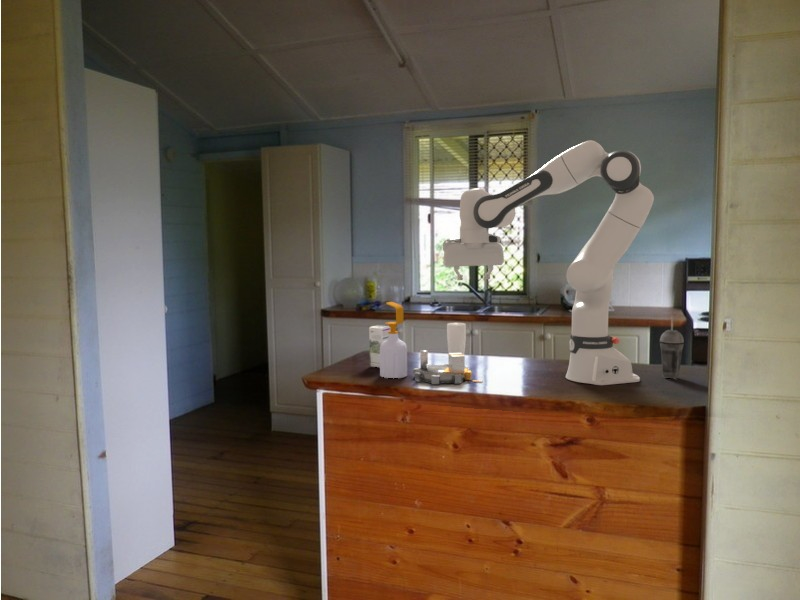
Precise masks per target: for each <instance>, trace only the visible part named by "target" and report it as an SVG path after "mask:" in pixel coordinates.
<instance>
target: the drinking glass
mask: <svg viewBox="0 0 800 600" xmlns="http://www.w3.org/2000/svg"><path fill="white" fill-rule="evenodd" d="M466 338H467V323H464V322H448V323H447V324H446V340H447V350H448V353H462V354H463V355H464V356H465V351H466V350H465V349H466V340H467V339H466Z"/></svg>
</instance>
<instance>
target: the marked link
mask: <svg viewBox="0 0 800 600" xmlns="http://www.w3.org/2000/svg"><path fill="white" fill-rule="evenodd" d="M447 356H448V357H447V358H448V364H449V369H450V370H451V371H452V372H465V367H466V366H465V361H466V360H465V354H464V355H463V354H462V353H448V355H447Z"/></svg>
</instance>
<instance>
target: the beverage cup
mask: <svg viewBox="0 0 800 600" xmlns="http://www.w3.org/2000/svg"><path fill="white" fill-rule="evenodd" d="M670 321H671V322H670V329H667V330H665V331H664V332H663V333H661V335H660V338H659V345H660V353H661V355H660V356H661V368H662V369H661V371H662V372H661V373H662V378H663V377H665V378H678V379H679V375H680V371H681V362H682V361H681V360H682V354H683V349H684V344H685V340H684V339H685V338H684V336H683V334H682V333H681V332H680V331H678V330H677V329H674V315H672V314H671V318H670ZM665 378H664V379H665Z"/></svg>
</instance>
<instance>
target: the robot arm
mask: <svg viewBox="0 0 800 600" xmlns="http://www.w3.org/2000/svg"><path fill="white" fill-rule="evenodd" d="M641 173H642V164H641V161H640V159H639V157H637V155H636V154H634V153H633V152H631V151H628V150H623V149H622V150H621V149H620V150H614V151H613V152H607V151H606V150H605V149H604V148H603V146H602V145H601V144H600V143H598V142H597V141H596V140H590V139H589V140H585V141H583V142H581V143H578V144H577V145H575V146H572V147H569V149H567V150H565V151H563V152H561V153H560V154H559V155H556V156H555V157H553V158H552V159H551V160H550V161H548V162H547V163H546V164H544V165H543V166H542V167H541V168H539V169H538V170H536V171H535V172H534V173H532V174H531V175H529V176H528V177H526V178H524V179H522V180H521V181H519V182H517V183H516V184H514V185H513V186H510V187H508V188H507V189H505V190H503V191H501V192H499V193H496V194H491V193H490V192H487V191H486V190H485V189H484V188H481V187H479V188H478V187H477V188H471V189H467V190H465V191H464V192H463V193H462V194H461V196H460V202H459V219H460V227H459V238H447V239H446V240H444V241H443V243H442V251H443V259H442V260H443V261H442V263H443V265H444V266H445V267H447V268H448V267H450V268H453V270H454V272H455V274H456V276H457V277H456V278H457V279H456V280H457V281H463V279H464V278H463V277H464V275H463V274H460V272H459V270H460V267H478V266H479V267H480V266H483V267H484V266H487V269H488V271H486V273H484V280H491V274H492V272H493V270H494V266H503V264H504V263H505V256H504V248H503V246H502V245H501V237H500V236H499V235H495V234H493V233H489V232H487V229H494V228H505V227H507V226H509V225H510V224H512V222H513V221H514V219H515V217H516V209H517V208H518V207H520V206H522V205H523V204H525V203H527V202H528V201H531V200H533V199H535V198H538V197H541V196H547V195H558V194H562V193H565V192H567V191H569V190H571V189H573V188H575V187H577V186H579V185H581V184H582V183H584V182H586V181H587V180H589V179H591V178H594V177H600V178H602V179H603V181H604V183H605V184H606V185H607V186H609V187H610V188H611V189H612V190H613V192H614V193H615V196H614V199H613V201H612V203H611V204H610V206H609V208H608V209H607V211H606V212H605V215H604V216H603V218H602V219H601V221H600V223H599V224H598V226H597V228H596V229H595V231H594V233H593V234H592V235H591V237H590V238H589V239H588V240H587V242H586V243H585V244H584V246H583V247H582V249H581V250H580V252H579V253H578V254H577V256H575V259H574V260H573V261H572V263H571V264H570V265H569V266H568V268H567V270H566V277H565V278H566V281H567V284H568V285H569V286H570V287H571V289H573V290H575V295H574V296H575V298H574V301H573V302H574V303H573V306H572V310H571V333H570V335H569V352H570V355H569V362H568V368H567V372H566V374H565V378H566V380H568V381H572V382H575V383H583V384H591V385H595V386H609V385H617V384H627V383H628V384H629V383H639V382H640V381H641V380H640V379H641V377H640V376H639V375H638V374H635V373H634V372H633V367H632V362H631V361H630V359H629V357H626V355H624V354H623V353H622V352H620V351H619V350H618V349H616V348H615V347H614V344H615V345H618V344H620V339H619V337H615V336H613V337H612V336H610V335H609V312H610V311H609V309H610V303H611V296H612V288H613V280H614V279H613V277H614V268H615V266H616V265H617V264H618V262H619V261H620V259H621V258H622V257H623V256H624V254H625V253H626V252H627V251H628V250H629V248H630V246H631V245H632V243H633V241H634V240H635V238H636V236H637V235H638V233H639V231H640V230H641V228H642V227H643V225H644V224H645V222H646V220H647V218H648V216H649V214H650V211H651V209H652V207H653V204H654V201H655V197H654V196H655V195H654V194H653V192H652V191H651V189H649V188H648V187H647V186H645V185H643V184H642V183H641V182H640V177H641Z"/></svg>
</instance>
